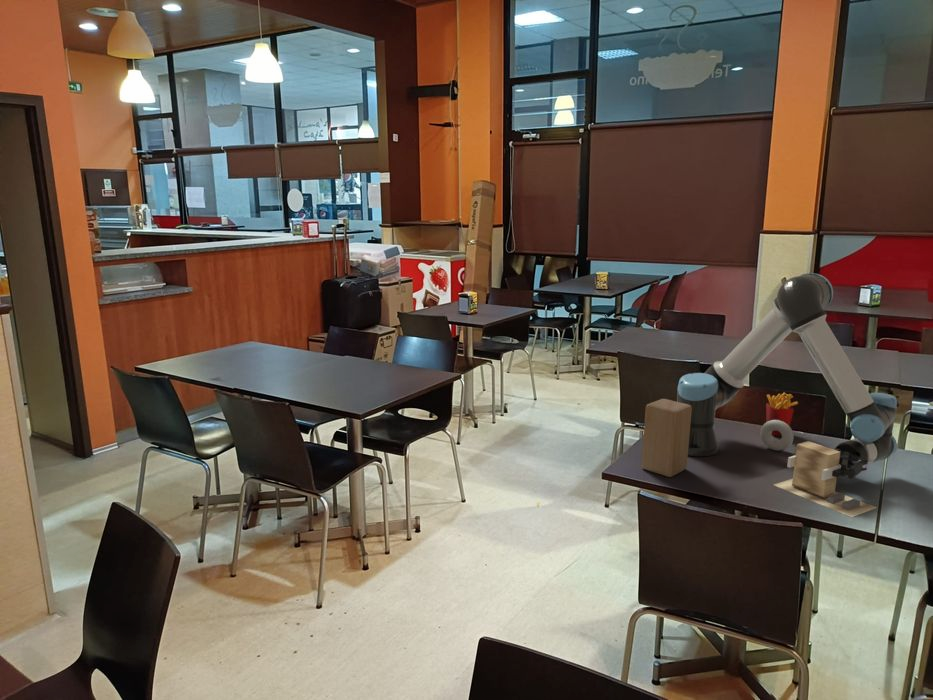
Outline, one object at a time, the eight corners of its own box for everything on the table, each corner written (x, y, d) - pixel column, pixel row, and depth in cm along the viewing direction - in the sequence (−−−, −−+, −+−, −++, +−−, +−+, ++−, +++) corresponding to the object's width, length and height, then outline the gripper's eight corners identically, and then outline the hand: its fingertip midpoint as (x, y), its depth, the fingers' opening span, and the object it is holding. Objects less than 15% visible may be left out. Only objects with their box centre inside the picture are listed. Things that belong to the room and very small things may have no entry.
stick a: (827, 501, 176) (827, 496, 176) (838, 497, 179) (839, 492, 178) (832, 504, 175) (833, 499, 175) (844, 499, 177) (845, 495, 177)
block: (639, 468, 200) (644, 403, 196) (657, 460, 207) (662, 397, 202) (670, 479, 193) (676, 411, 189) (687, 469, 200) (693, 404, 195)
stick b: (842, 507, 173) (842, 502, 173) (853, 503, 175) (854, 498, 175) (848, 510, 172) (848, 505, 171) (859, 505, 174) (860, 500, 174)
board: (772, 489, 187) (773, 484, 186) (797, 481, 192) (797, 476, 192) (850, 522, 168) (851, 517, 168) (875, 512, 174) (876, 507, 173)
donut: (756, 447, 218) (760, 418, 216) (760, 444, 221) (763, 415, 218) (789, 455, 212) (793, 425, 210) (793, 452, 214) (796, 422, 212)
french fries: (762, 430, 234) (767, 388, 231) (785, 430, 234) (790, 388, 231) (774, 439, 225) (779, 396, 222) (798, 439, 226) (804, 396, 222)
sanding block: (791, 485, 185) (797, 444, 182) (803, 482, 188) (808, 441, 185) (823, 498, 177) (829, 455, 175) (834, 494, 180) (840, 451, 177)
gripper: (893, 479, 182) (843, 497, 170) (816, 453, 200) (767, 467, 189) (897, 453, 180) (847, 469, 169) (820, 429, 198) (770, 442, 187)
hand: (805, 468), depth 179 cm, fingers closed on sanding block, 9 cm apart
